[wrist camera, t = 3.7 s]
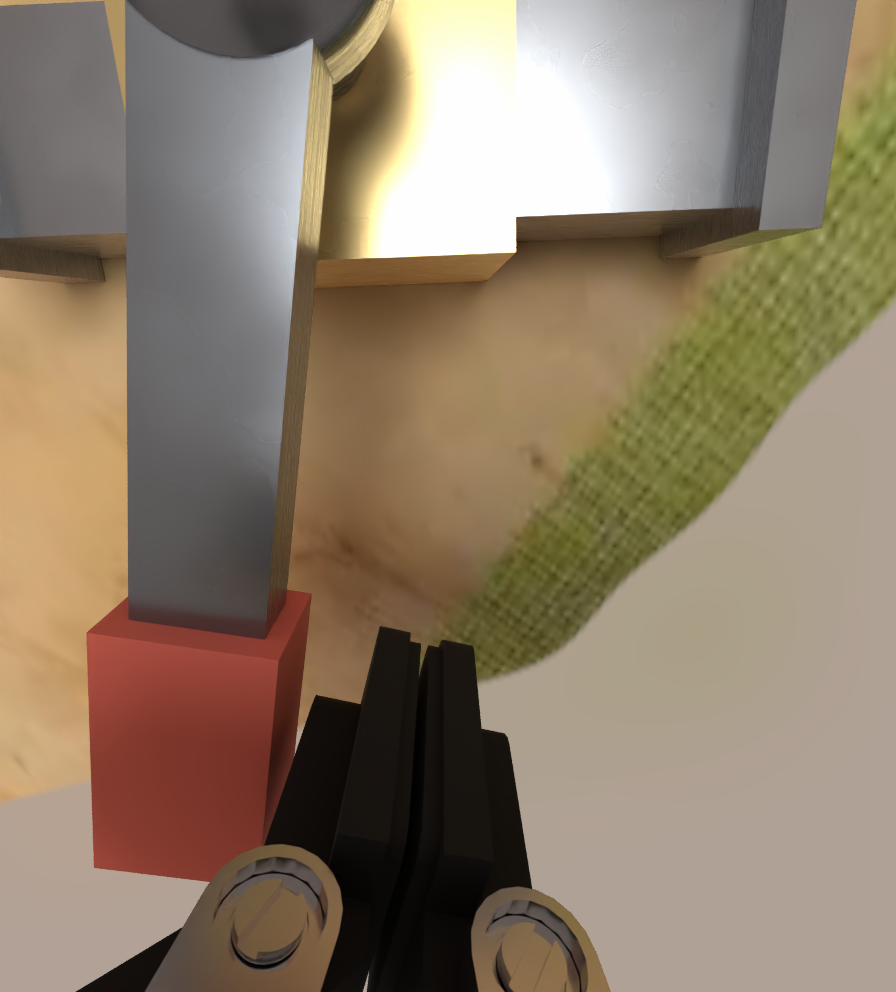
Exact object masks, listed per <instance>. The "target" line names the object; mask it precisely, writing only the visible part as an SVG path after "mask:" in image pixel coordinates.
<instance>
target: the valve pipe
mask: <svg viewBox="0 0 896 992" xmlns="http://www.w3.org/2000/svg"><path fill="white" fill-rule="evenodd" d="M856 1H857V0H395V1H394V5H393V8H392V11H391V13H390V15H389V18H388V20H387V23H386V25H385V27H384V29H383V31H382V33H381V35H380V36H379V38H378V40H377V42H376V43H375V45H374V46H373V48H372V49H371V50H370V52H369V53H368V54H367V55H366V57H365V58H364V59H363V60H362V61H361V62H360V63H359V64H358V65H357V66H356V67H355V69H354V70H353V71H352V72H350V73H349V74H348V75H346V76H345V77H344V78H342V79H341V80H340V81H338V82H337V83H335V84H334V85H333V95H332V106H331V117H330V128H329V138H328V149H327V160H326V171H325V182H324V193H323V204H322V214H321V225H320V236H319V247H318V258H317V269H316V280H315V288H326V287H351V286H376V285H400V284H425V283H450V282H474V281H487V280H488V279H489V278H490V277H491V276H492V275H493V274H494V273H495V272H496V271H497V270H498V269H499V268H500V267H501V266H502V265H503V264H504V263H505V262H506V261H507V260H508V259H509V258H510V257H511V256H512V255H514V254H515V253H516V242H518V241H543V240H567V239H591V238H615V237H640V236H661V245H660V259H668V258H693V257H705V256H709V255H713V254H717V253H721V252H725V251H729V250H733V249H737V248H741V247H745V246H749V245H753V244H757V243H761V242H765V241H769V240H773V239H777V238H781V237H785V236H789V235H794V234H798V233H802V232H806V231H810V230H814V229H818V228H822V222H823V215H824V209H825V202H826V196H827V189H828V183H829V176H830V170H831V163H832V157H833V150H834V144H835V137H836V131H837V124H838V118H839V111H840V105H841V98H842V92H843V85H844V79H845V72H846V66H847V59H848V53H849V46H850V40H851V33H852V27H853V20H854V14H855V7H856ZM106 258H126V92H125V0H104V1H97V2H75V3H53V4H31V5H10V6H0V277H5V278H15V279H25V280H36V281H46V282H56V283H80V282H104V281H105V279H104V274H103V270H102V265H101V260H100V259H106Z"/></svg>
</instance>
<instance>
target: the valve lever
mask: <svg viewBox="0 0 896 992" xmlns="http://www.w3.org/2000/svg"><path fill="white" fill-rule="evenodd" d="M394 1H395V0H125V92H126V269H127V445H128V597H127V598H126V599H125V600H124V601H123V602H121V603H120V604H119V605H118V606H117V607H116V608H115V609H113V610H112V611H111V612H110V613H109V614H108V615H106V616H105V617H104V618H103V619H102V620H101V621H100V622H98V623H97V624H96V625H95V626H94V627H93V628H91V629H90V630H89V631H88V632H87V664H88V695H89V726H90V757H91V788H92V815H93V816H92V817H93V818H92V819H93V849H94V868H100V869H108V870H117V871H126V872H133V873H141V874H149V875H158V876H166V877H174V878H182V879H190V880H199V881H207V882H211V881H212V879H213V878H214V877H215V875H216V874H217V873H218V872H219V870H220V869H221V868H222V867H223V866H225V865H226V864H227V863H229V862H230V861H231V860H233V859H234V858H235V857H237V856H238V855H239V854H242V853H244V852H247V851H249V850H252V849H254V848H257V847H259V846H264V844H265V841H266V838H267V835H268V832H269V829H270V826H271V823H272V821H273V818H274V815H275V812H276V809H277V806H278V803H279V800H280V797H281V794H282V791H283V788H284V785H285V782H286V780H287V777H288V774H289V771H290V768H291V765H292V762H293V759H294V753H295V744H296V735H297V725H298V716H299V707H300V697H301V688H302V679H303V670H304V660H305V651H306V642H307V632H308V623H309V614H310V604H311V595H312V594H310V593H304V592H297V591H291V590H287V584H288V573H289V562H290V551H291V540H292V529H293V518H294V508H295V497H296V486H297V475H298V464H299V453H300V442H301V432H302V421H303V410H304V399H305V388H306V377H307V366H308V356H309V345H310V334H311V323H312V312H313V301H314V290H315V280H316V269H317V258H318V247H319V236H320V225H321V214H322V204H323V193H324V182H325V171H326V160H327V149H328V138H329V128H330V117H331V106H332V95H333V85H334V84H335V83H337V82H338V81H340V80H341V79H342V78H344V77H345V76H346V75H348V74H349V73H350V72H352V71H353V70H354V69H355V67H356V66H357V65H358V64H359V63H360V62H361V61H362V60H363V59H364V58H365V57H366V55H367V54H368V53H369V52H370V50H371V49H372V48H373V46H374V45H375V43H376V42H377V40H378V38H379V36H380V35H381V33H382V31H383V29H384V27H385V25H386V23H387V20H388V18H389V15H390V13H391V11H392V8H393V5H394Z"/></svg>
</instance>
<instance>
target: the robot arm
mask: <svg viewBox="0 0 896 992" xmlns="http://www.w3.org/2000/svg"><path fill="white" fill-rule="evenodd" d="M410 635H411V633H410V632H405V631H401V630H396V629H391V628H387V627H382V626H380V628H379V632H378V636H377V640H376V644H375V648H374V652H373V656H372V660H371V664H370V668H369V672H368V676H367V680H366V685H365V689H364V693H363V697H362V701H361V704H357V703H352V702H347V701H342V700H337V699H333V698H328V697H323V696H318V695H316V696H315V698H314V701H313V703H312V706H311V709H310V712H309V715H308V718H307V721H306V724H305V727H304V730H303V733H302V736H301V739H300V742H299V744H298V747H297V751H296V753H295V756H294V759H293V762H292V765H291V768H290V771H289V774H288V777H287V780H286V782H285V785H284V788H283V791H282V794H281V797H280V800H279V803H278V806H277V809H276V812H275V815H274V818H273V821H272V823H271V826H270V829H269V832H268V835H267V838H266V841H265V844H264V846H259V847H257V848H254V849H252V850H249V851H247V852H244V853H242V854H239V855H238V856H237V857H235V858H234V859H233V860H231V861H230V862H229V863H227V864H226V865H225V866H223V867H222V868H221V869H220V870H219V872H218V873H217V874H216V875H215V877H214V878H213V879H212V881H211V882H210V883H209V884H208V886H207V887H206V889H205V891H204V892H203V894H202V895H201V897H200V899H199V900H198V902H197V904H196V906H195V907H194V909H193V911H192V913H191V914H190V916H189V917H188V919H187V921H186V923H185V924H184V926H183V927H182V928H180V929H179V930H177V931H176V932H174V933H172V934H171V935H169V936H167V937H166V938H164V939H162V940H161V941H159V942H157V943H156V944H154V945H152V946H151V947H149V948H148V949H146V950H144V951H142V952H141V953H139V954H138V955H136V956H134V957H133V958H131V959H129V960H128V961H126V962H124V963H123V964H121V965H119V966H118V967H116V968H114V969H113V970H111V971H109V972H108V973H106V974H104V975H103V976H101V977H99V978H98V979H96V980H94V981H93V982H91V983H90V984H88V985H86V986H85V987H83V988H81V989H80V990H78V991H76V992H363V989H364V986H365V982H366V979H367V975H368V972H369V978H368V986H367V992H611V991H610V988H609V986H608V983H607V980H606V977H605V975H604V972H603V969H602V967H601V964H600V961H599V958H598V956H597V953H596V951H595V949H594V947H593V945H592V943H591V941H590V939H589V937H588V935H587V933H586V931H585V930H584V929H583V927H582V926H581V925H580V924H579V922H578V921H577V920H576V919H575V917H574V916H573V915H572V913H571V912H569V911H568V910H567V909H566V908H564V907H563V906H562V905H561V904H560V903H558V902H557V901H556V900H555V899H553V898H551V897H549V896H547V895H545V894H543V893H541V892H539V891H537V890H534V889H532V885H531V878H530V872H529V866H528V859H527V853H526V847H525V841H524V834H523V828H522V822H521V815H520V809H519V802H518V796H517V790H516V783H515V778H514V771H513V764H512V759H511V752H510V745H509V741H508V737H507V736H506V735H505V734H504V733H500V732H495V731H490V730H485V729H481V719H480V709H479V698H478V687H477V677H476V666H475V656H474V648H473V646H470V645H466V644H461V643H456V642H452V641H447V640H442V641H441V642H440V645H439V647H434V646H430V645H429V646H428V648H427V650H426V654H425V657H424V661H423V665H422V668H421V672H420V675H419V667H420V652H421V644H420V643H415V642H411V641H410Z"/></svg>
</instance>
